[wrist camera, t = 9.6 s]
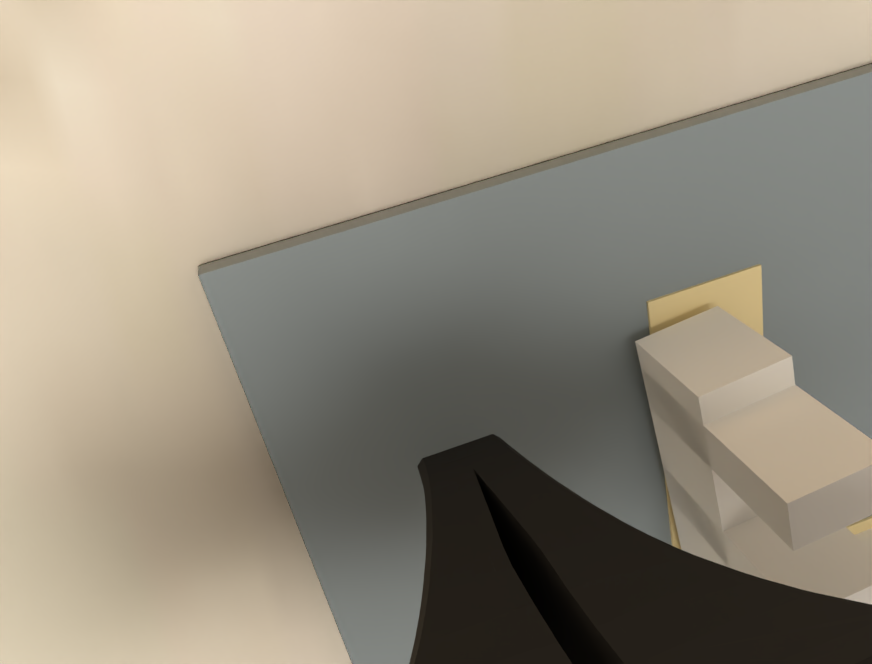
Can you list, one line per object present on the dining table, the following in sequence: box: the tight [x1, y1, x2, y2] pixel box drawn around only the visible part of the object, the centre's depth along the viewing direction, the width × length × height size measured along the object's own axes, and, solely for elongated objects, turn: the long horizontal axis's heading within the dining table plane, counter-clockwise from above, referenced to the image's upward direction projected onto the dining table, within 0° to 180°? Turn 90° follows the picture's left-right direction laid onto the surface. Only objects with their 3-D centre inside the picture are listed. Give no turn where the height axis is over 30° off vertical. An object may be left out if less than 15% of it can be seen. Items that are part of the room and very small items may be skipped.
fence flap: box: [635, 306, 872, 604], centre depth 14 cm, size 9×2×4 cm, turn 19°
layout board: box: [198, 64, 872, 664], centre depth 16 cm, size 16×15×1 cm
